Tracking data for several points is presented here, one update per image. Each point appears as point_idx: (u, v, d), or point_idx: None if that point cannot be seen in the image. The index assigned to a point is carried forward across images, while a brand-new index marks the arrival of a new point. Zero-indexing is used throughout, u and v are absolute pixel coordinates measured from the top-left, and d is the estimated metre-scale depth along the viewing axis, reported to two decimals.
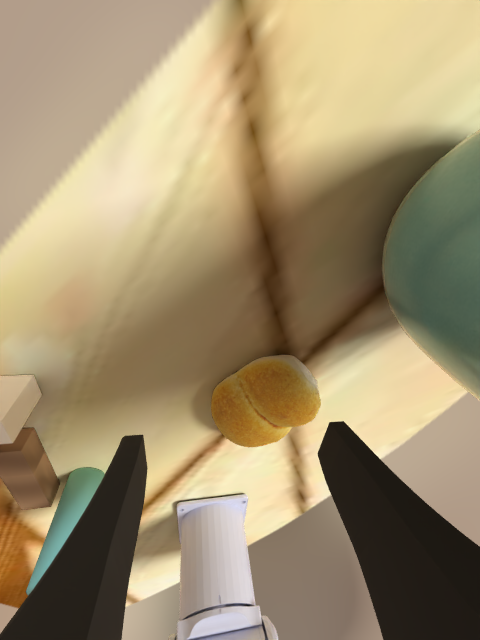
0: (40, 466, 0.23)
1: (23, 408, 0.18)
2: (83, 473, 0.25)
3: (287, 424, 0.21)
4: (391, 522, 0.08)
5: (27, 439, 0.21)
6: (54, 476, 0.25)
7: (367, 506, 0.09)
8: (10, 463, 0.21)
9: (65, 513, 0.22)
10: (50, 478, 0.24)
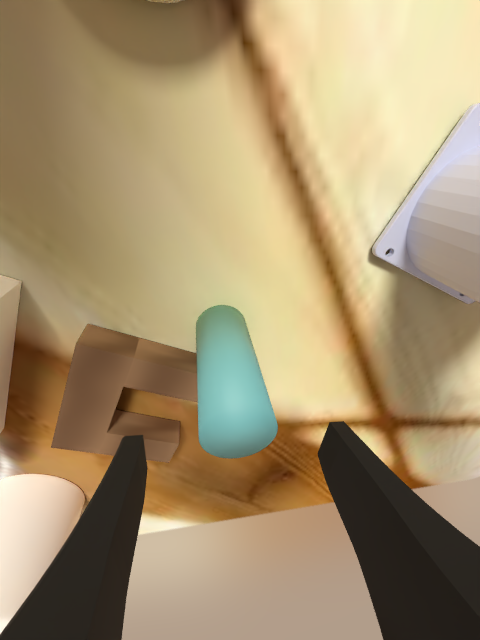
0: (144, 350, 0.17)
1: None
2: (198, 322, 0.17)
3: None
4: (391, 522, 0.08)
5: (82, 333, 0.16)
6: (191, 354, 0.18)
7: (367, 507, 0.09)
8: (98, 365, 0.16)
9: (197, 361, 0.14)
10: (182, 356, 0.18)
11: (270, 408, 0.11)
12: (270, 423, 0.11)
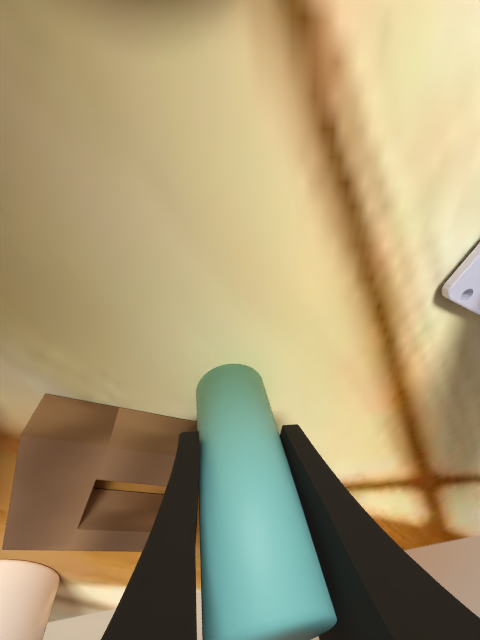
0: (124, 429, 0.12)
1: None
2: (200, 389, 0.12)
3: None
4: (327, 531, 0.07)
5: (35, 413, 0.11)
6: (190, 424, 0.14)
7: (310, 514, 0.08)
8: (57, 458, 0.11)
9: None
10: (178, 430, 0.13)
11: (325, 593, 0.07)
12: (326, 621, 0.06)
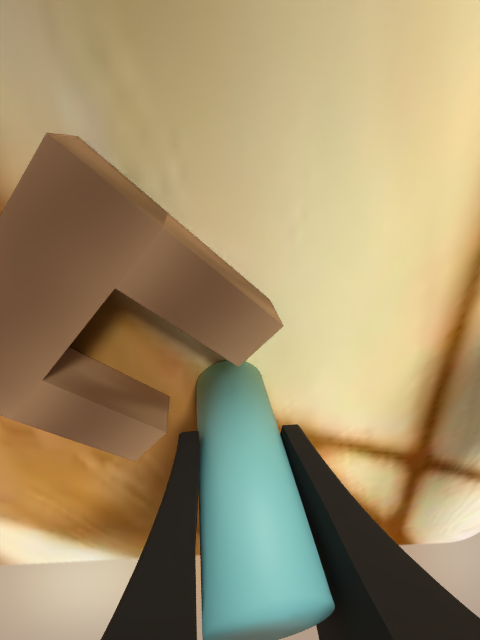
0: (177, 230, 0.08)
1: None
2: (200, 384, 0.12)
3: None
4: (327, 531, 0.07)
5: (65, 137, 0.07)
6: (243, 278, 0.10)
7: (310, 514, 0.08)
8: (79, 215, 0.07)
9: None
10: (233, 273, 0.10)
11: (324, 581, 0.07)
12: (324, 608, 0.07)
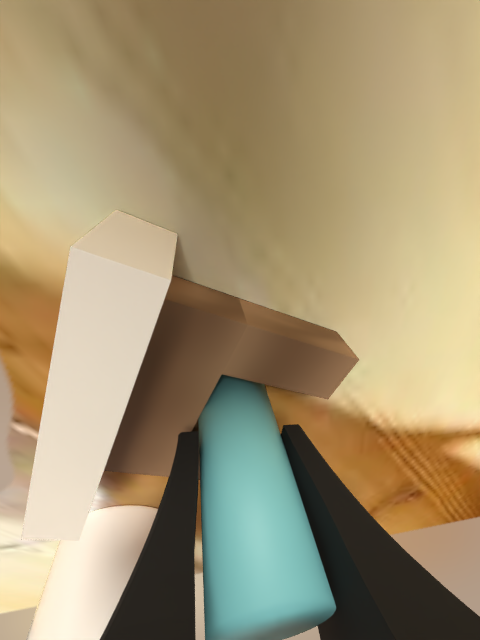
0: (254, 314, 0.10)
1: (140, 240, 0.07)
2: None
3: None
4: (329, 531, 0.07)
5: None
6: (310, 325, 0.12)
7: (311, 514, 0.08)
8: (189, 337, 0.09)
9: (200, 460, 0.10)
10: (303, 327, 0.11)
11: (323, 581, 0.07)
12: (325, 608, 0.07)
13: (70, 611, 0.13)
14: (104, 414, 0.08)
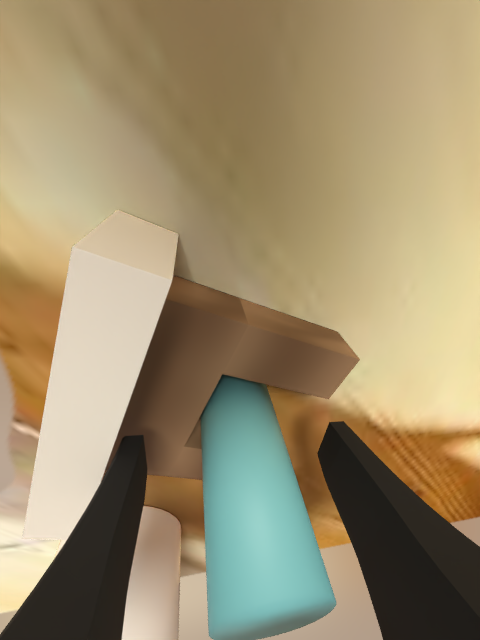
0: (255, 314, 0.10)
1: (141, 240, 0.07)
2: None
3: None
4: (391, 522, 0.08)
5: None
6: (311, 325, 0.12)
7: (367, 506, 0.09)
8: (190, 337, 0.09)
9: (203, 458, 0.10)
10: (303, 327, 0.11)
11: (324, 577, 0.07)
12: (326, 603, 0.07)
13: None
14: (105, 414, 0.08)
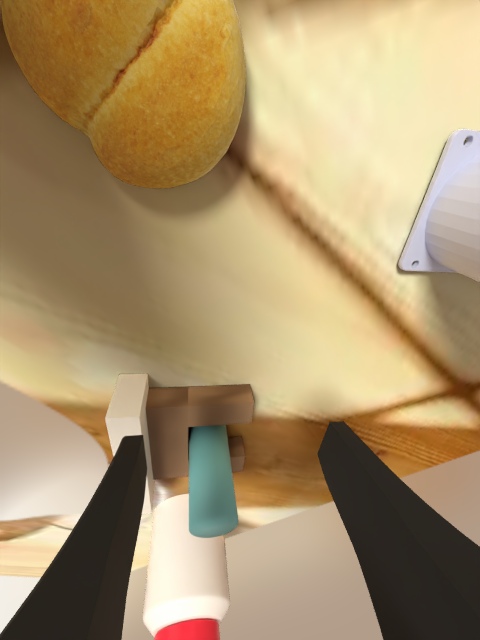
0: (194, 396, 0.21)
1: (129, 394, 0.19)
2: (189, 429, 0.24)
3: None
4: (391, 522, 0.08)
5: (147, 398, 0.21)
6: (231, 387, 0.23)
7: (367, 507, 0.09)
8: (165, 417, 0.21)
9: None
10: (224, 391, 0.22)
11: (227, 507, 0.18)
12: (229, 516, 0.18)
13: (162, 550, 0.26)
14: None
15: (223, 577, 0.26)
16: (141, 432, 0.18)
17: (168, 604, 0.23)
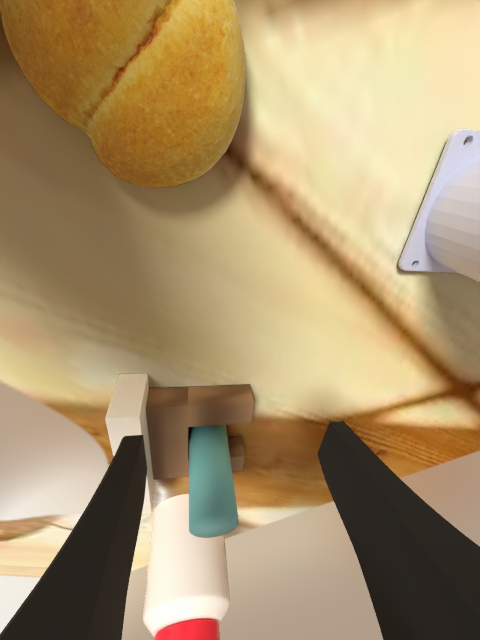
0: (194, 396, 0.21)
1: (129, 394, 0.19)
2: (189, 429, 0.24)
3: None
4: (391, 522, 0.08)
5: (147, 398, 0.21)
6: (231, 387, 0.23)
7: (367, 507, 0.09)
8: (165, 417, 0.21)
9: None
10: (224, 391, 0.22)
11: (227, 507, 0.18)
12: (230, 516, 0.18)
13: (162, 550, 0.26)
14: None
15: (223, 577, 0.26)
16: (141, 432, 0.18)
17: (169, 603, 0.23)
